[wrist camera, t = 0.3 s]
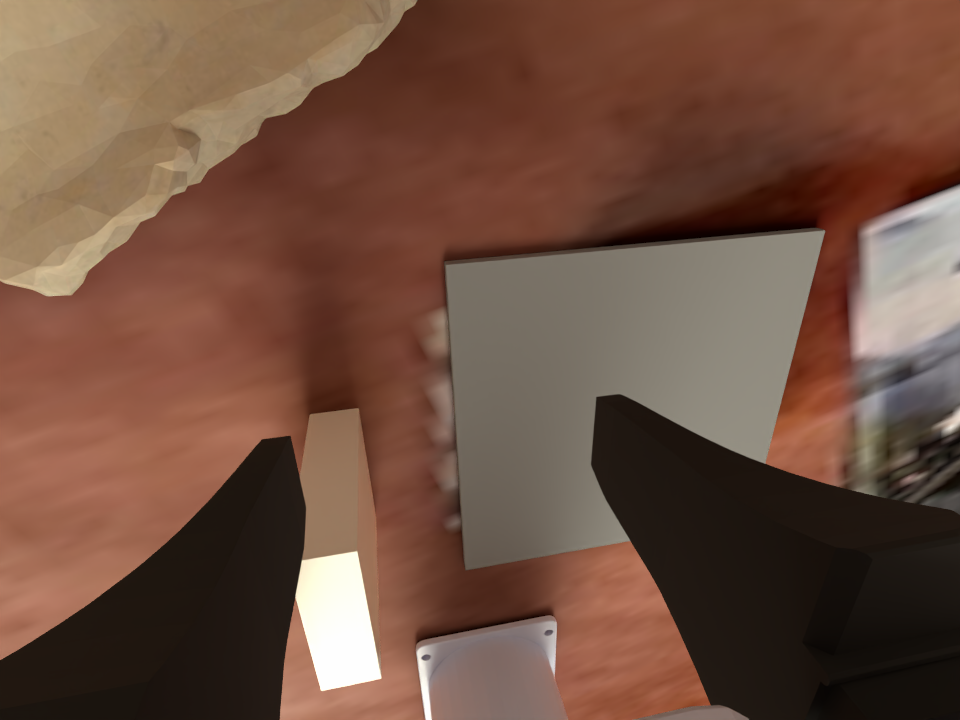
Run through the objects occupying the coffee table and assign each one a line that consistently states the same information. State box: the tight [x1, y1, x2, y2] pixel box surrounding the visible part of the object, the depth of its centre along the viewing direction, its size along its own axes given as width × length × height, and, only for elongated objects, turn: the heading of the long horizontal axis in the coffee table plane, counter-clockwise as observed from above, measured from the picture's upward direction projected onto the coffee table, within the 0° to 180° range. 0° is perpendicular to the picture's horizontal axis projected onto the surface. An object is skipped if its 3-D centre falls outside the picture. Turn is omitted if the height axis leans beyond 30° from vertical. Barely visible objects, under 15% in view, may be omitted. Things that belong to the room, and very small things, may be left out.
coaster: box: [295, 408, 381, 691], centre depth 21 cm, size 6×2×8 cm, turn 2°
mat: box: [444, 228, 825, 570], centre depth 25 cm, size 16×16×1 cm
